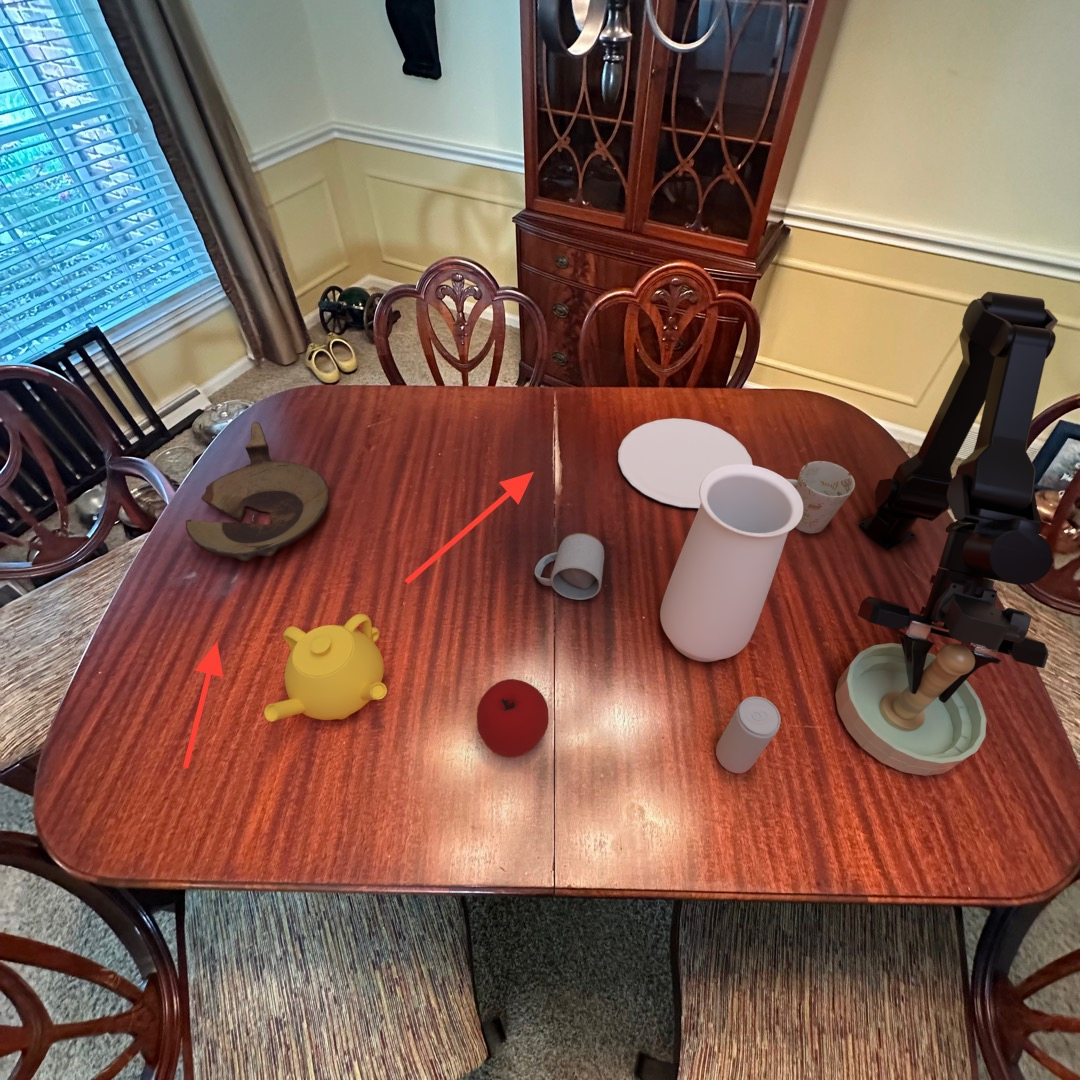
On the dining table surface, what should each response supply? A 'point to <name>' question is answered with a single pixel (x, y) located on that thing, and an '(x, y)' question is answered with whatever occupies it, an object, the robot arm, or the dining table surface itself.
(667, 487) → the plate
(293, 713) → the teapot
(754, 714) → the beverage can
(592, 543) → the ceramic mug
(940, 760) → the bowl
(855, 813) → the dining table surface
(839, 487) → the mug
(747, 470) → the vase
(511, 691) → the apple
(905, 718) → the wooden pestle
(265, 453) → the oil lamp
